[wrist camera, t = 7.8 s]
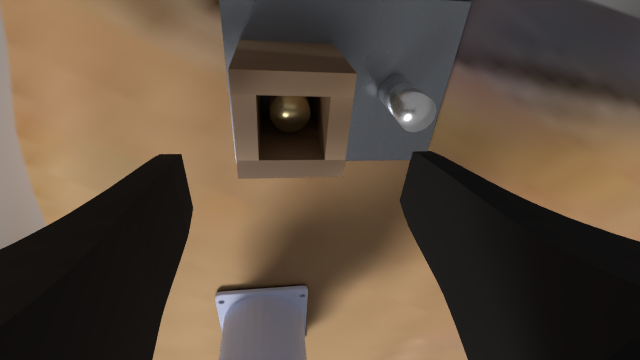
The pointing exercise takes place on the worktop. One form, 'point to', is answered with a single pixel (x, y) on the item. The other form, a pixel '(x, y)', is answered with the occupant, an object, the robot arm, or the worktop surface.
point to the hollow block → (291, 80)
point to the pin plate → (363, 63)
